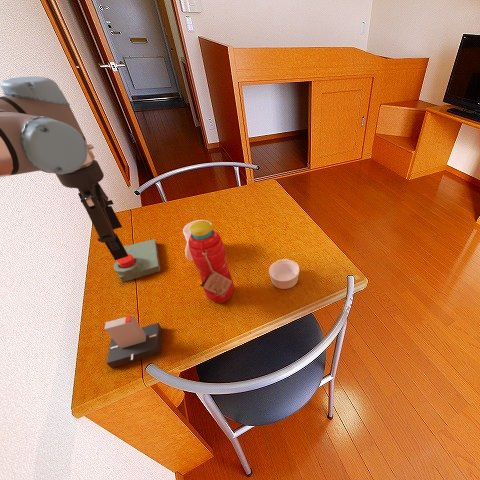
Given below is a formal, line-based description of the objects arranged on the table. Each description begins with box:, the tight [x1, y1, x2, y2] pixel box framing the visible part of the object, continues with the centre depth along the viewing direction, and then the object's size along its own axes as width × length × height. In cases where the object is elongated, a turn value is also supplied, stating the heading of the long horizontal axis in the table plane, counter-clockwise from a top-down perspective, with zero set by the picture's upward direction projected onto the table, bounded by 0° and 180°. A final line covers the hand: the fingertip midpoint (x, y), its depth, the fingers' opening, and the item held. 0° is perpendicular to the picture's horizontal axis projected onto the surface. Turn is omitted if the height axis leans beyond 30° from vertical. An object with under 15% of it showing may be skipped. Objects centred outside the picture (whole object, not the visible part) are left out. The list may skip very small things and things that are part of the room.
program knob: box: [104, 314, 146, 348], centre depth 61 cm, size 5×2×8 cm, turn 112°
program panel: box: [106, 322, 163, 369], centre depth 64 cm, size 10×9×3 cm
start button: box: [116, 254, 135, 268], centre depth 80 cm, size 4×4×2 cm
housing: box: [113, 238, 161, 283], centre depth 85 cm, size 14×11×4 cm
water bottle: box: [188, 220, 235, 304], centre depth 68 cm, size 12×8×25 cm, turn 18°
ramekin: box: [268, 258, 300, 290], centre depth 81 cm, size 9×9×4 cm
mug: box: [182, 219, 213, 262], centre depth 86 cm, size 12×8×10 cm
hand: (118, 241), depth 71 cm, fingers open, 13 cm apart
